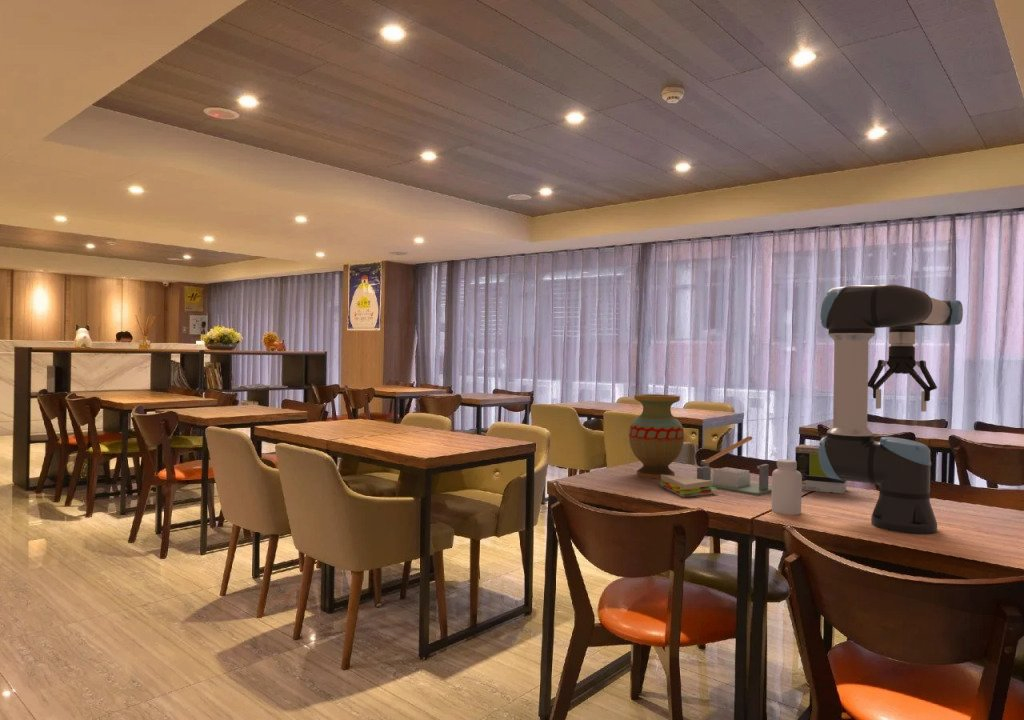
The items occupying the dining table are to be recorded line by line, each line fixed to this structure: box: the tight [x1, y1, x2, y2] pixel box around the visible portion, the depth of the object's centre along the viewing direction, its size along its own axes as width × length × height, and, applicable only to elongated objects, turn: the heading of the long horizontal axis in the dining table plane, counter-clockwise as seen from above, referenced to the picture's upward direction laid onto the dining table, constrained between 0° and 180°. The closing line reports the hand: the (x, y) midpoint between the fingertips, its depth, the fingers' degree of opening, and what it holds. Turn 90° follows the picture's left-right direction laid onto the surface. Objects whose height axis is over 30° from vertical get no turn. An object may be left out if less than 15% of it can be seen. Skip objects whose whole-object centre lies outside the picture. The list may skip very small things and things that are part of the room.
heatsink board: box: [693, 463, 772, 497], centre depth 234 cm, size 28×16×9 cm, turn 44°
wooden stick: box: [698, 435, 754, 467], centre depth 235 cm, size 21×4×2 cm
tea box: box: [794, 444, 848, 494], centre depth 232 cm, size 15×10×15 cm, turn 58°
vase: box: [628, 393, 685, 479], centre depth 252 cm, size 20×20×30 cm
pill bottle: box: [771, 459, 803, 516], centre depth 196 cm, size 8×8×15 cm
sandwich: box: [659, 474, 717, 498], centre depth 223 cm, size 15×20×5 cm
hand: (900, 410), depth 226 cm, fingers open, 13 cm apart
